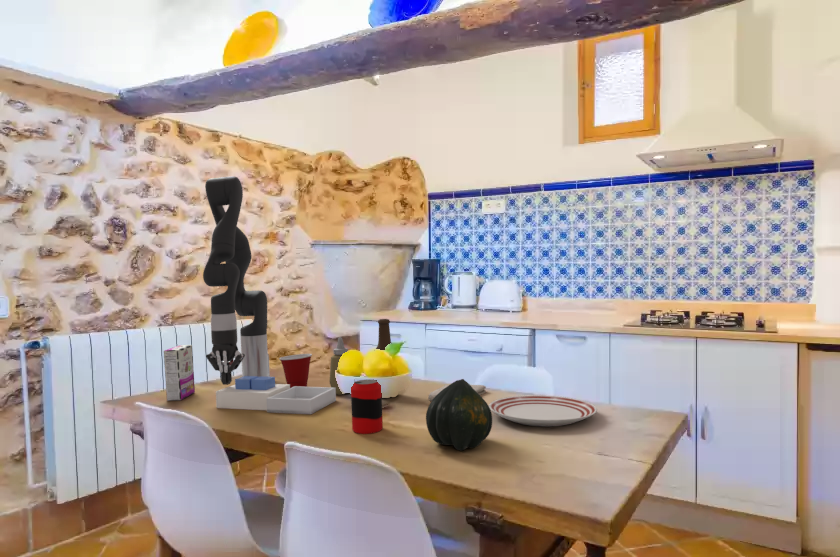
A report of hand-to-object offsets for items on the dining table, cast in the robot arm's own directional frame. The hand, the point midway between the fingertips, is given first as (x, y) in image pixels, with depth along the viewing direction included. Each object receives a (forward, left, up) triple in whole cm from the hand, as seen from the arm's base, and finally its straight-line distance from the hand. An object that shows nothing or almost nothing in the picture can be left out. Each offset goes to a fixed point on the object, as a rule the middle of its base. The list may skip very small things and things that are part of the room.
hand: (226, 384), depth 176 cm
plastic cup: (-19, +13, -6) cm, 24 cm away
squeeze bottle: (-18, +30, -6) cm, 36 cm away
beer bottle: (-16, +46, -6) cm, 50 cm away
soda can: (+19, +54, -6) cm, 58 cm away
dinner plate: (0, +95, -6) cm, 96 cm away
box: (0, +26, -6) cm, 27 cm away
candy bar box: (-5, -22, -6) cm, 23 cm away
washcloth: (-19, +69, -7) cm, 72 cm away
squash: (+26, +79, -6) cm, 84 cm away
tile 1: (0, +7, -1) cm, 7 cm away
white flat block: (0, +9, -6) cm, 11 cm away
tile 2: (0, +13, -1) cm, 13 cm away
